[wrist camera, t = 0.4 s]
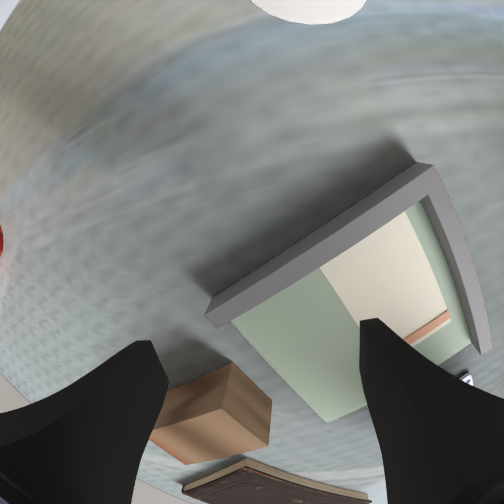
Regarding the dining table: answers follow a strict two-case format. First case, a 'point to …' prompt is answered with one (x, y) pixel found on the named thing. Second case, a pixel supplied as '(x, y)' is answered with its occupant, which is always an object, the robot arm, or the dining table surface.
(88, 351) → the dining table surface
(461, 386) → the robot arm
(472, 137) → the dining table surface
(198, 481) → the hardcover book
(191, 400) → the walnut block
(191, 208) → the dining table surface
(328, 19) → the wineglass
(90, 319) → the dining table surface
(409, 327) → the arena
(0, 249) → the paper cup
